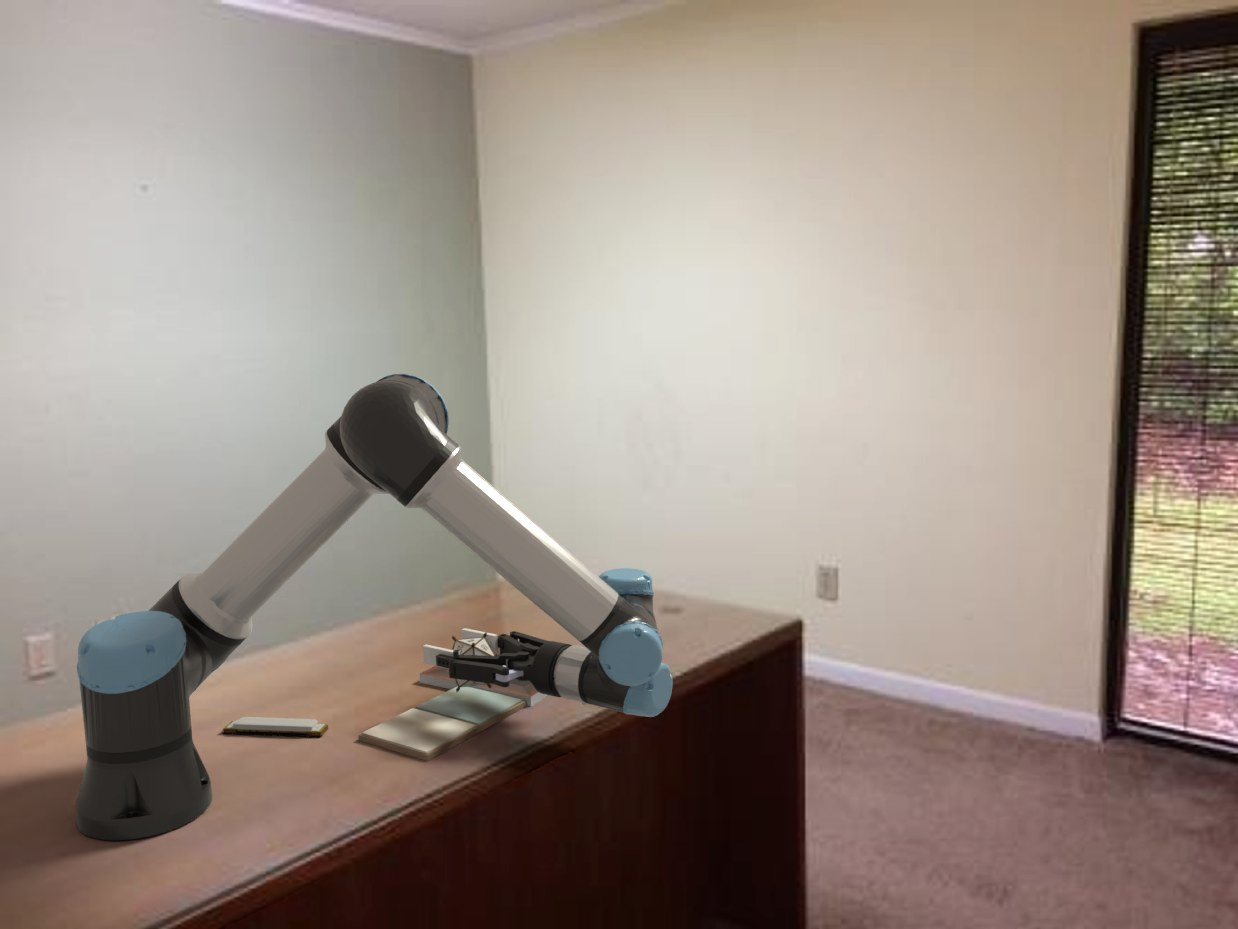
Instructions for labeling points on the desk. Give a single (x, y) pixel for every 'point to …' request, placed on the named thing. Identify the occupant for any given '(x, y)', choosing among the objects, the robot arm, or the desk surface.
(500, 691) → the picture frame
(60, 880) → the desk surface
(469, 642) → the game die
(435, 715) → the board
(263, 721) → the harmonica
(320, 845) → the desk surface
